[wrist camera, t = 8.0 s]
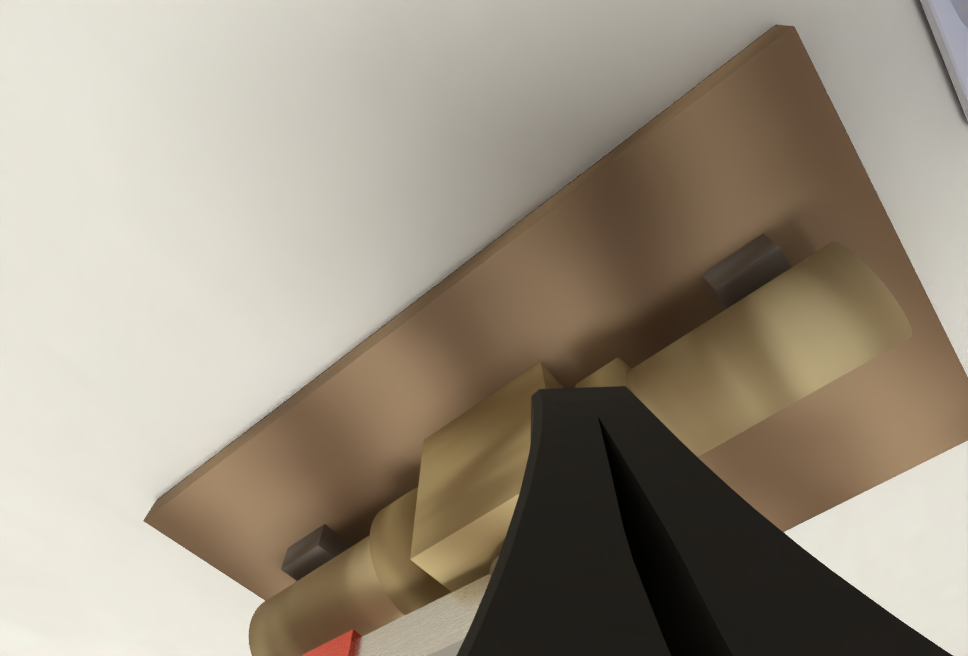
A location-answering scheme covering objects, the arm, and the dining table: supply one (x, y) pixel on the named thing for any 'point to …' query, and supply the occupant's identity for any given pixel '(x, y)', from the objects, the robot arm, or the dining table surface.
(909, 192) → the dining table surface
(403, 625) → the valve lever
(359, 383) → the valve board
